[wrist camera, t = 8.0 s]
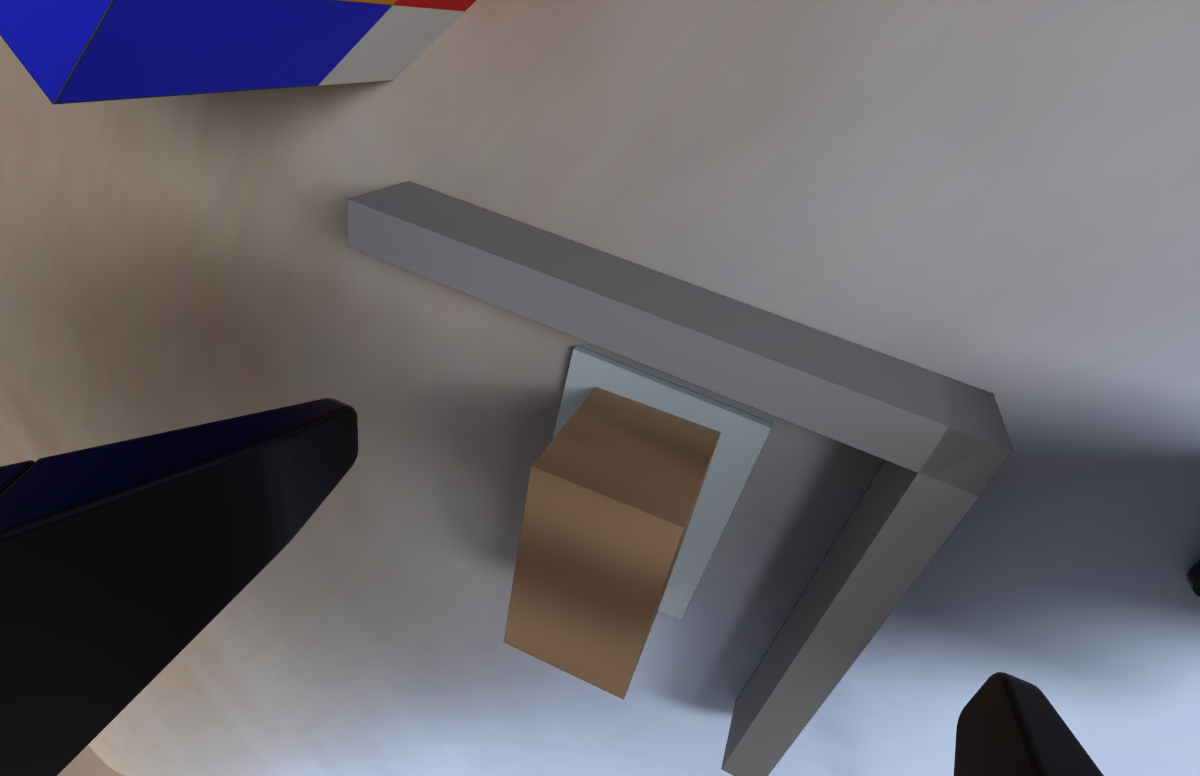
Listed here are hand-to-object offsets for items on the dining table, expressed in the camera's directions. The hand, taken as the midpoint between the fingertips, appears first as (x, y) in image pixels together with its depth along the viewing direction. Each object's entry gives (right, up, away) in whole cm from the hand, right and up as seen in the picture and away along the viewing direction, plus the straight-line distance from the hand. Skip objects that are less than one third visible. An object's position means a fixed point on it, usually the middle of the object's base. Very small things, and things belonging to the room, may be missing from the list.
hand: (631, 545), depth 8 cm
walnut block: (+1, -2, +15) cm, 15 cm away
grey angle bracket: (0, -1, +15) cm, 15 cm away
